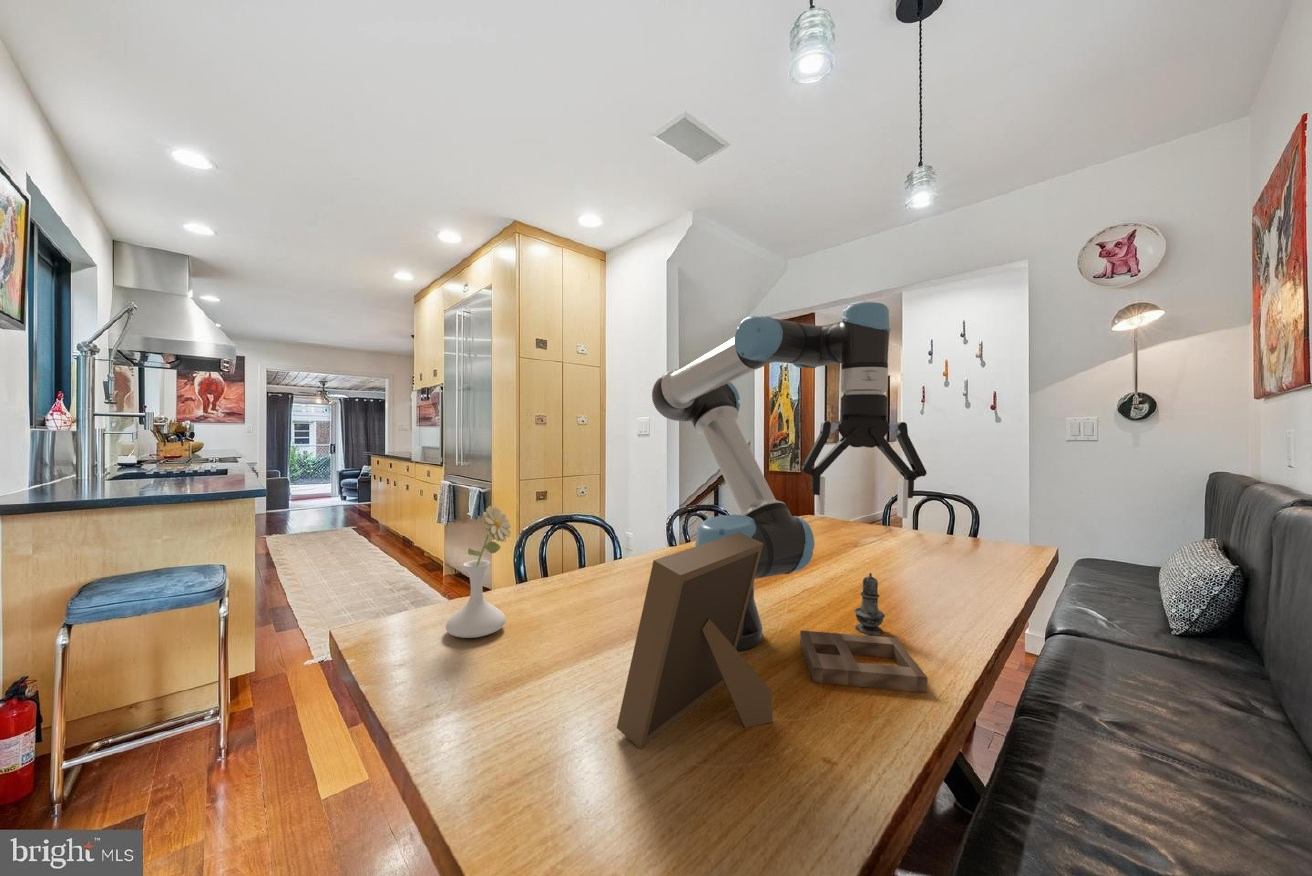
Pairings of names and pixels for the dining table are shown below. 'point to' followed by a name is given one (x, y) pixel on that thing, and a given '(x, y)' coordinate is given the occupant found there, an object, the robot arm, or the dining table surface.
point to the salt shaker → (869, 608)
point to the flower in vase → (477, 611)
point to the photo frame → (693, 639)
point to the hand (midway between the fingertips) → (860, 515)
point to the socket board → (838, 666)
